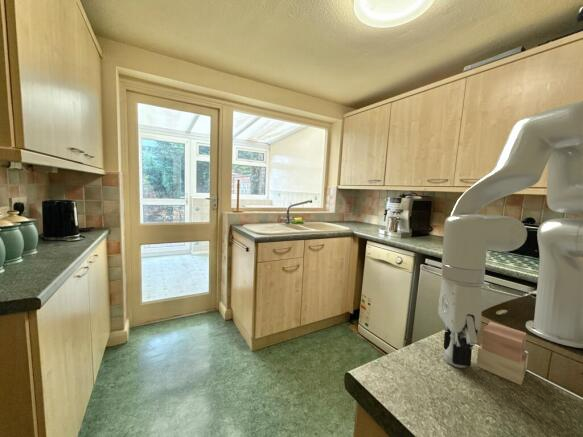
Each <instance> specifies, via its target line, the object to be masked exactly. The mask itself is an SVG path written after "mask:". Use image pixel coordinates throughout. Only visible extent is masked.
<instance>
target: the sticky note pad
mask: <svg viewBox="0 0 583 437" xmlns="http://www.w3.org/2000/svg"><path fill="white" fill-rule="evenodd" d="M526 340H527V332H524V331H521V330H519V329H515V328H511V327H508V326H505V325H502V324H499V323H495V322H492V321H489V322H488V324H487V325H486V326H485V327H484V328H483V330H482V340H481V344H480V345H479V347H478V348H477V358H476V359H477V360H476V367H478V368H480V369H483V370H485V371H487V372H489V373H492V374H494V375H496V376H497V377H501V378H503V379H505V380H507V381H510V382H513V383H515V384H517V385H520V386H522V384H523V382H522V381H524V379H525V376H526V373H525V372H527V370H528V368H527V367H528V360H529V359H528V358H529V351H527V350H526V342H527V341H526ZM524 375H525V376H524ZM523 378H524V379H523Z"/></svg>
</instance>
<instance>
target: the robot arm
mask: <svg viewBox="0 0 583 437" xmlns="http://www.w3.org/2000/svg"><path fill="white" fill-rule="evenodd" d="M546 166H547V176H546V205H547V207H548V208H549V210H551V211H553V212H555V213H560V214H561V213H562V214H574V215H575V214H577V215H583V100H580V101H577V102H574V103H573V102H572V103H570V104H565V105H562V106H558V107H553V108H550V109H547V110H544V111H541V112H538V113H534V114H531V115H527V116H525V117H523V118H521V119H520V120H518V121H517V122H516V123H515V124H514V125H513V126H512V127H511V129H510V132H509V133H508V135H507V137H506V140H505V142H504V144H503V147H502V148H501V150H500V153H499V155H498V157H497V159H496V161H495V164H494V166H493V168H492V170H491V171H490V172H489V173H488V174H486V175H485V176H483V177H481V179H479V180H477V182H475V183H474V184H472V185H471V186H470V187H469V188H468V189H466V190H465V191H464V192H463V193H462V194H461V195H460V197H458V199H457V201H456V203H455V205H454V207H453V209H452V211H451V212H450V213H451V214H450V215H449V216H447V217H446V218H445V221H444V225H443V240H442V257H441V273H440V278H441V279H442V280H441V284H440V290H439V300H438V309H437V314H438V316H439V318H441V320H442V321H443V323H444V334H443V335H444V336H443V348H444V350H445V351H446V349H447V348H448V347H449V345H450V341H451V337H450V335H451V331H452V332H454V333H455V344H453V353H452V362H453V363H454V364H457V365H463V366H467V367H470V366H471V365H472V350H473V349H474V345H478V339H477V336H479V334H480V332H481V327H482V312H483V311H482V288H481V287H483V286H484V285H485V277H486V276H485V275H486V264H487V262H486V261H487V252H488V251H496V252H510V251H515V250H517V249H519V248H520V247H522V246H523V245H524V244H525V242H526V240H527V237H528V231H527V228H526V225H525V224H524V223H523V222H522V221H521V220H520V219H518V218H515V217H513V216H510V215H509V216H507V215H500V214H499V215H496V214H495V215H494V214H483V213H481V214H480V212H481V210H483V209H484V208H485V207H486V206H487V205H489V204H491V203H493V202H494V201H497V200H499V199H501V198H504V197H507V196H511V195H514V194H515V193H518V192H521V191H524V190H527V189H529V188H531V187H533V186H535V185H537V183H539V182H540V180H541V178H542V175H543V173H544V170H545V168H546ZM536 232H537V234H536V236H537V238H536V239H537V244H538V252H539V253H538V254H539V264H538V265H539V266H538V276H537V288H536V297H535V307H534V308H535V309H534V318H533V320H528V321H526V322H525V328H526V329H527V330H528V331H529V332H531V333H533V334H534V335H536V336H538V337H540V338H542V339H544V340H547V341H549V342H552V343H556V344H558V345H563V346H567V347H572V348H578V349H583V259H582V258H583V218H569V217H568V218H567V217H566V218H564V217H563V218H560V217H559V218H551V219H548V220H545V221H543V222H542V223H541V224H540V225H539V226H538V228H537V231H536ZM463 328H464V329H465V330H466V331H463V330H462V329H463ZM449 329H450V330H451V331H450V330H449ZM460 334H461V335H465V336H464V338H461V339H460Z"/></svg>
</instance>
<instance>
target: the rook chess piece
mask: <svg viewBox="0 0 583 437" xmlns="http://www.w3.org/2000/svg"><path fill="white" fill-rule="evenodd" d="M449 330H450V329H449ZM462 330H463V331H466V330H465V329H464V328H463V329H462ZM450 331H451V330H450ZM450 337H451V341H450V345H449V347H448V348H447V349H446V350H445V351H444V355H443V358H444V360H445V361H446V362H447V363H448V365H451V366H453V367H455V368H458V369H465V368H467V367H468V366H463V365H457V364H454V363H453V362H452V353H453V344H455V333H454V332H452V331H451V335H450ZM465 337H466V335H461V334H460V339H461V338H465Z"/></svg>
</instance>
